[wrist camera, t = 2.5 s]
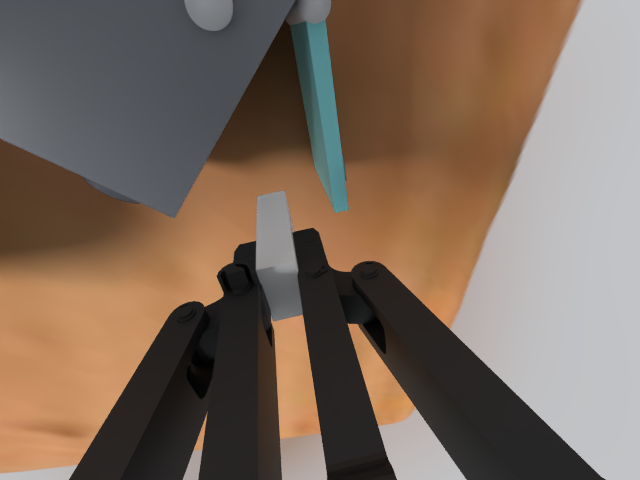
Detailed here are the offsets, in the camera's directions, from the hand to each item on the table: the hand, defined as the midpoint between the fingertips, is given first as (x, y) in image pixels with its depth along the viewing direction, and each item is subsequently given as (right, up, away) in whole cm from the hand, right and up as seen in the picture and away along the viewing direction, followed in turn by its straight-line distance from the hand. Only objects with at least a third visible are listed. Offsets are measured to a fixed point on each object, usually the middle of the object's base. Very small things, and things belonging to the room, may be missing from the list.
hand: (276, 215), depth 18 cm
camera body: (-8, +13, +7) cm, 17 cm away
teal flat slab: (+2, +11, +9) cm, 15 cm away
